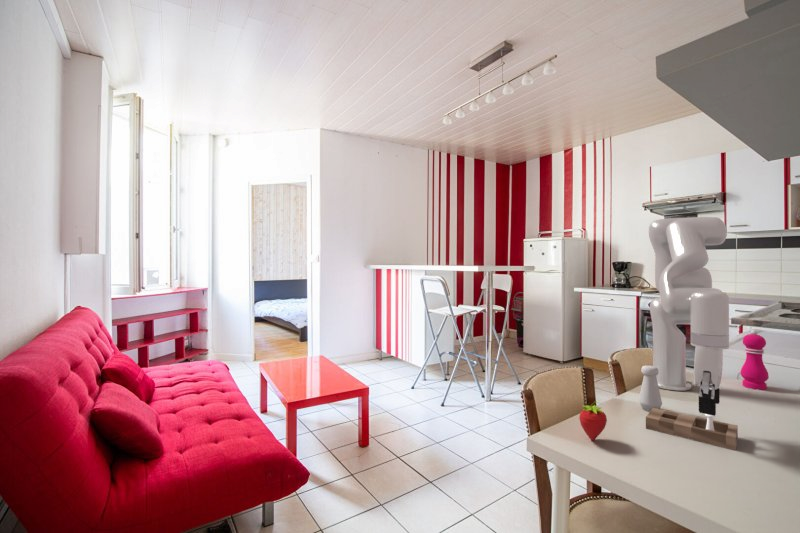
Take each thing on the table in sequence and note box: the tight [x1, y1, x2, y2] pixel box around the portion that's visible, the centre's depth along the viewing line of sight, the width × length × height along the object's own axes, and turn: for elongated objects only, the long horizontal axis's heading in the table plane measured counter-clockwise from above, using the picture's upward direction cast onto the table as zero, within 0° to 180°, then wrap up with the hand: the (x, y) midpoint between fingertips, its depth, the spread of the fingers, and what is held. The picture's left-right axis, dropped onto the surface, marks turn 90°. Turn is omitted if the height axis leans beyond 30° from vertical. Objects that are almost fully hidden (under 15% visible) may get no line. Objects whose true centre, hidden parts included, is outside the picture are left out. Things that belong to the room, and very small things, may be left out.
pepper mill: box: [740, 329, 769, 391], centre depth 134 cm, size 7×7×20 cm
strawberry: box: [578, 401, 608, 441], centre depth 96 cm, size 6×8×10 cm
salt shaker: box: [638, 364, 663, 413], centre depth 115 cm, size 6×6×13 cm
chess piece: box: [704, 414, 716, 431], centre depth 97 cm, size 5×5×10 cm
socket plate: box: [645, 408, 739, 451], centre depth 99 cm, size 9×18×3 cm, turn 46°
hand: (709, 407), depth 97 cm, fingers open, 9 cm apart
